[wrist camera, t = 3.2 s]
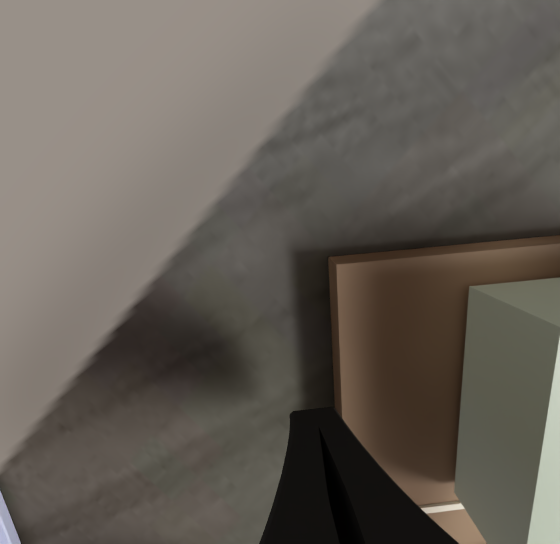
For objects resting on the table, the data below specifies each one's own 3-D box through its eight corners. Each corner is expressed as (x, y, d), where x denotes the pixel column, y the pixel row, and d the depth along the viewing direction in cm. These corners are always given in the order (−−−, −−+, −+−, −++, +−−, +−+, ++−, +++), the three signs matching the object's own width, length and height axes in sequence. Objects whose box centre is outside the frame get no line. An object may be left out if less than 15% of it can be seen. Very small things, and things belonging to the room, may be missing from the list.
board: (345, 646, 16) (353, 687, 14) (328, 257, 11) (337, 265, 9) (649, 603, 16) (683, 640, 15) (769, 215, 11) (837, 218, 10)
